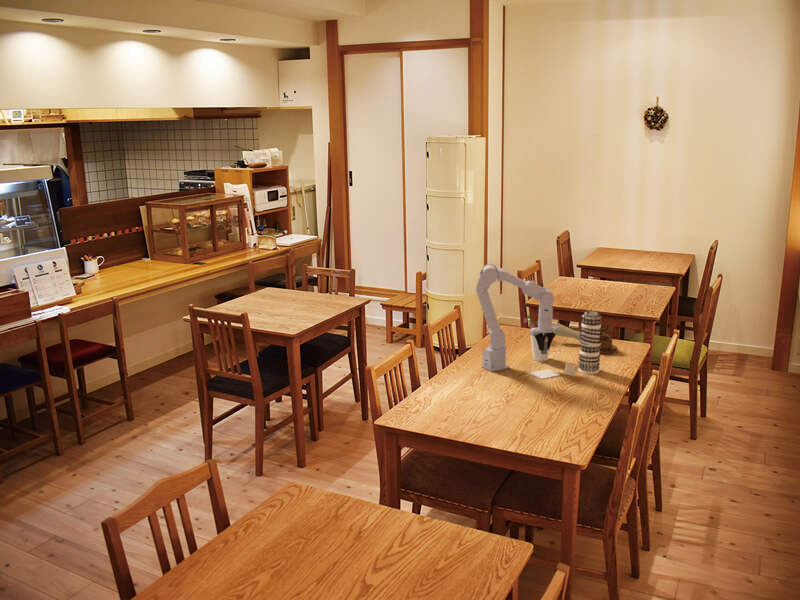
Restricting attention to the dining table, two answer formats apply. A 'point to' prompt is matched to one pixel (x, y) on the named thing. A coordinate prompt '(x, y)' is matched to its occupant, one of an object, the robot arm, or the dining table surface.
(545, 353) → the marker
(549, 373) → the paper
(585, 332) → the decorative candle
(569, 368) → the rectangular block
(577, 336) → the flower vase
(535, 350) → the foam cup
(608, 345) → the cup and saucer
